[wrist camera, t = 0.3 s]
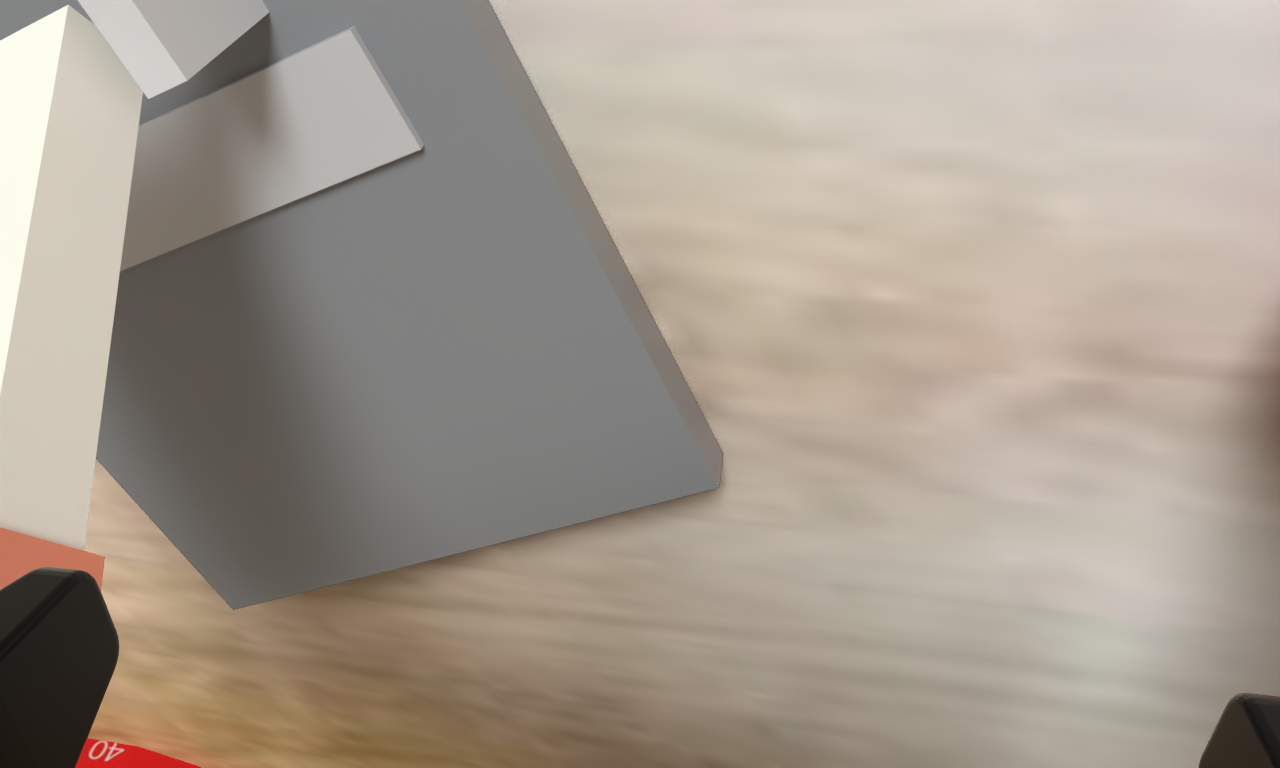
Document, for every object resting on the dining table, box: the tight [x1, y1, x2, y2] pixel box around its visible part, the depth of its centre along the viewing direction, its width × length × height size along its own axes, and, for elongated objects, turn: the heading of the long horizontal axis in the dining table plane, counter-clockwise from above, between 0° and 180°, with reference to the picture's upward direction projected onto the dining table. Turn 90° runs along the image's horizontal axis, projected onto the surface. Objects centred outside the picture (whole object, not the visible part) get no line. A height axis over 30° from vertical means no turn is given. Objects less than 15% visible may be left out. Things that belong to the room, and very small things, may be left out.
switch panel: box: [0, 0, 723, 610], centre depth 22 cm, size 18×14×4 cm
